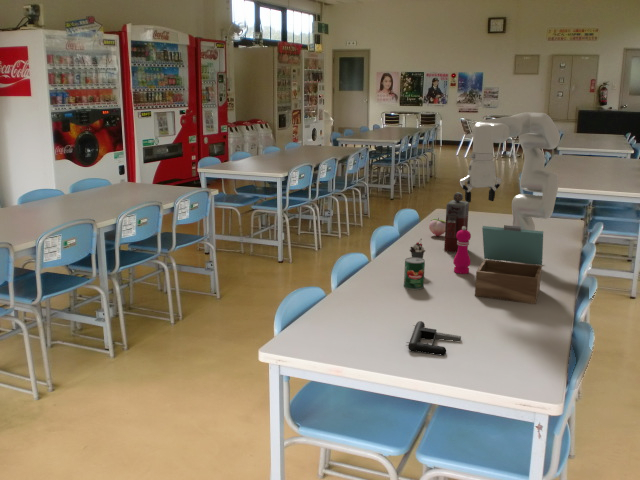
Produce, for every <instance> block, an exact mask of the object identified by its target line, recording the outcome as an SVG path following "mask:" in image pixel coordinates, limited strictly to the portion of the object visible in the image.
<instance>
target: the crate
mask: <svg viewBox="0 0 640 480" xmlns="http://www.w3.org/2000/svg"><path fill="white" fill-rule="evenodd" d="M542 269H543V265H531V264H521V263H512V262H506V261H498V260H489V259H484V258H483V261H482V262H481V264H480V266H479V267H478V269H477V270H476V271H475V272H476V275H475V288H474V289H475V290H474V297H480V298H487V299H494V300H501V301H508V302H509V301H510V302H519V303H525V304H534V305H536V302H537V300H538V296H539V293H540V290H541V282H542V281H541V280H542Z"/></svg>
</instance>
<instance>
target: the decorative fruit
mask: <svg viewBox="0 0 640 480" xmlns="http://www.w3.org/2000/svg"><path fill="white" fill-rule="evenodd" d="M428 226H429V227H428V228H429V231H430V232H431V233H432V234H434V235H435V236H437V237H439V236H442V235H445V226H446V220H445V219H440V217H438V219H437V218H432V219H431V220H430V223H429V225H428Z"/></svg>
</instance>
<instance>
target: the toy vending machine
mask: <svg viewBox="0 0 640 480" xmlns="http://www.w3.org/2000/svg"><path fill="white" fill-rule="evenodd" d="M463 199H464V195H463V193H461V192H458V191H457V192H455V193H454V195H453V199H452V200H450V201H449V202H447V203H446V207H445V208H446V209H445V222H446V226H445V233H444V248H443V251H444V252H449V253H457V251H458V244H457V241H458V239H457V238H456V235H457V232H458V231H460V230H462V227H463V226H465V227H466V230H467V231H468V225H469V211H470V210H469V207H470V202H467V201H466V200H465V201H464V200H463Z"/></svg>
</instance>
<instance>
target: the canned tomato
mask: <svg viewBox="0 0 640 480" xmlns="http://www.w3.org/2000/svg"><path fill="white" fill-rule="evenodd" d="M425 262H426V260H425V258H423V259H422V258H417V257H412V256H410V257H406V258H405V259H404V277H403V287H404V288H405V289H407V290H412V291H413V290H416V291H417V290H418V291H419V290H421V289H424V286H425V284H424V283H425V267H426V263H425Z"/></svg>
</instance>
